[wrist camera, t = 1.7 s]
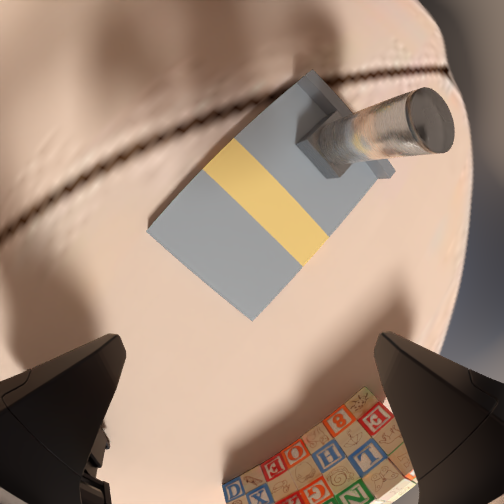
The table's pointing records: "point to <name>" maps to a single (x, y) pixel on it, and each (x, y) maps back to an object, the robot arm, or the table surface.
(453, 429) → the robot arm
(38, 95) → the table surface
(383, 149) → the lever handle
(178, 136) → the table surface
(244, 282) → the plate
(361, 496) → the stack of blocks
